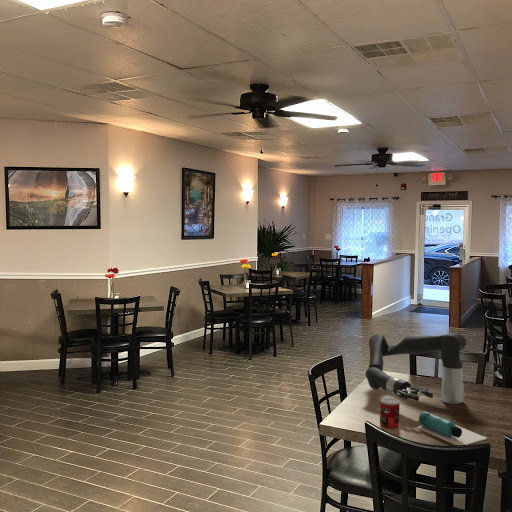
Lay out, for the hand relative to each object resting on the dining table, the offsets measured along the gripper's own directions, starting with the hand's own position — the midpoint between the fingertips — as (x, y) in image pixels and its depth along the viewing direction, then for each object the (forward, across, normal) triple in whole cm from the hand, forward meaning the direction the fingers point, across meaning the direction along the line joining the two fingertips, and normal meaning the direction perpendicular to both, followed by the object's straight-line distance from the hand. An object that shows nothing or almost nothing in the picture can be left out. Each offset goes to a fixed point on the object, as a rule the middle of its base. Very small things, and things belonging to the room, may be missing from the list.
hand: (425, 397), depth 231 cm
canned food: (-4, +17, -11) cm, 21 cm away
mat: (+14, 0, -11) cm, 18 cm away
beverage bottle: (+2, +5, -7) cm, 9 cm away
